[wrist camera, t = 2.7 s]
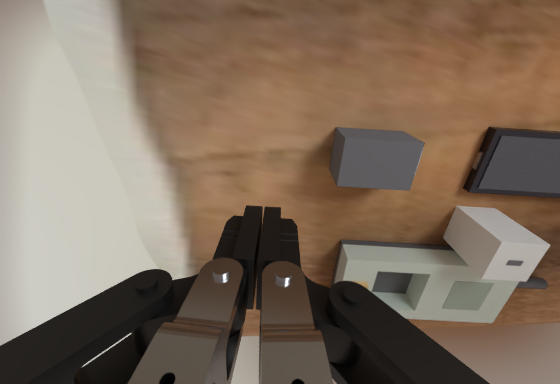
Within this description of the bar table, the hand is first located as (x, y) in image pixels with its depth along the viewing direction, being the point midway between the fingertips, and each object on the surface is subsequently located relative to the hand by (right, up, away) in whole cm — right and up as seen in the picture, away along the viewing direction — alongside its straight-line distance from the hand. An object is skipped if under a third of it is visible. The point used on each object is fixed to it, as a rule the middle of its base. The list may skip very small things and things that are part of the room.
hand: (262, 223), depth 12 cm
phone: (+25, +4, +12) cm, 28 cm away
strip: (+19, -8, +18) cm, 28 cm away
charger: (+21, -2, +15) cm, 26 cm away
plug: (+9, +5, +12) cm, 16 cm away
